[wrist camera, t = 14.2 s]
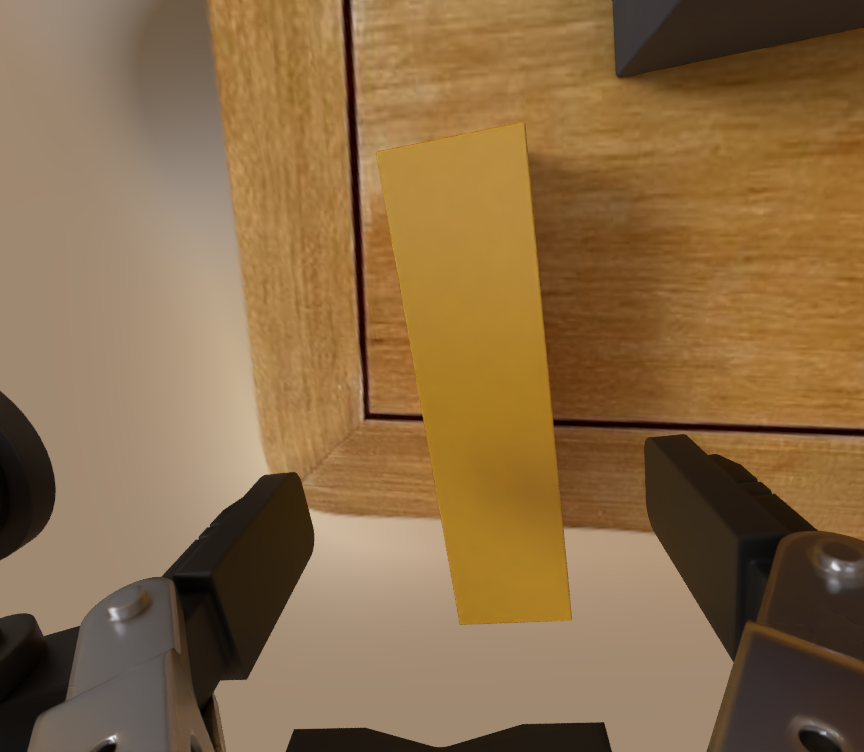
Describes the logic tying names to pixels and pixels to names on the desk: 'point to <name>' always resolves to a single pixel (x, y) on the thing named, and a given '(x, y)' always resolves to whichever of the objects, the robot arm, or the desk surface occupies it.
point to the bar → (481, 367)
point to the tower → (718, 28)
